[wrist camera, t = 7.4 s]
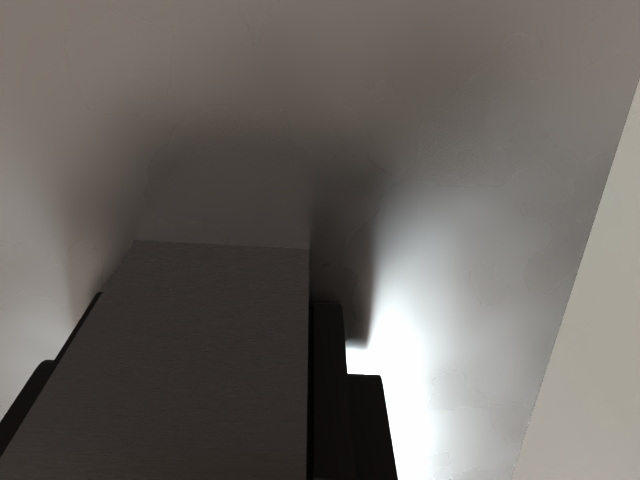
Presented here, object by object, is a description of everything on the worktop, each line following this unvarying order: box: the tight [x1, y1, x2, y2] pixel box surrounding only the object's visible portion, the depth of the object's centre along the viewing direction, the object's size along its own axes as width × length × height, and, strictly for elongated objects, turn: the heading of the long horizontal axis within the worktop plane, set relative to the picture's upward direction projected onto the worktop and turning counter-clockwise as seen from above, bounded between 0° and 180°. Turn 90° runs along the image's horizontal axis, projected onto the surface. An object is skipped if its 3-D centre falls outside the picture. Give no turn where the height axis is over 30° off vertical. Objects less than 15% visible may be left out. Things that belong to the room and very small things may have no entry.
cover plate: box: [0, 0, 640, 480], centre depth 9 cm, size 13×15×6 cm
